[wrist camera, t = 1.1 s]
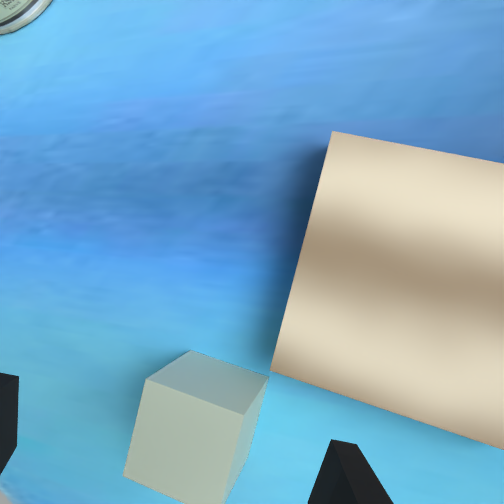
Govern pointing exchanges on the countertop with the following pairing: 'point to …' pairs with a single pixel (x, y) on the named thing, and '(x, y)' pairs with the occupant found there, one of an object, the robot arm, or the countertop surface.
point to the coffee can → (19, 13)
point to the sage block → (195, 428)
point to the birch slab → (403, 286)
